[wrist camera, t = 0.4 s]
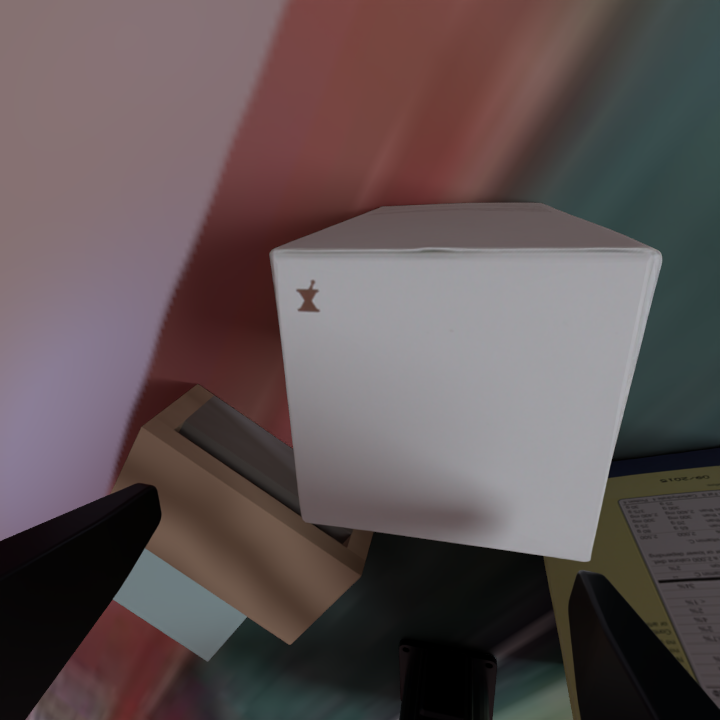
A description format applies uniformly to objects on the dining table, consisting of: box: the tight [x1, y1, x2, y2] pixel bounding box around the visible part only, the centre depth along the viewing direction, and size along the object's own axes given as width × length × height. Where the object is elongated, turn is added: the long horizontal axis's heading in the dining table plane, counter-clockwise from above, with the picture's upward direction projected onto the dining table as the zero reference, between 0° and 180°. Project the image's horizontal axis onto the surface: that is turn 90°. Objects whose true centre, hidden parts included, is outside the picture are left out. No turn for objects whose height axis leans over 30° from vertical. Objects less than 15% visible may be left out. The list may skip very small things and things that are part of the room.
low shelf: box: [111, 384, 374, 645], centre depth 26 cm, size 8×13×5 cm, turn 57°
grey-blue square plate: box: [113, 549, 247, 662], centre depth 33 cm, size 10×9×2 cm
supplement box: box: [269, 203, 662, 562], centre depth 15 cm, size 7×7×13 cm
